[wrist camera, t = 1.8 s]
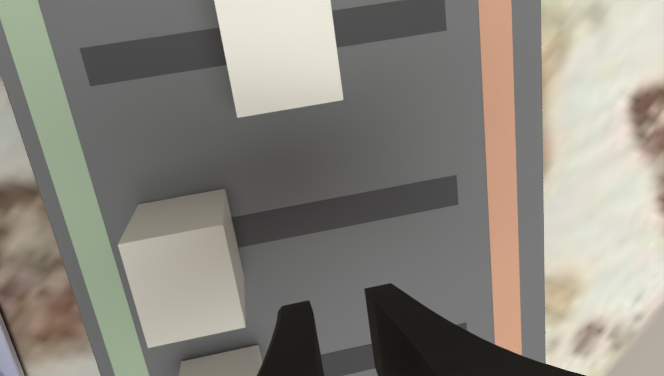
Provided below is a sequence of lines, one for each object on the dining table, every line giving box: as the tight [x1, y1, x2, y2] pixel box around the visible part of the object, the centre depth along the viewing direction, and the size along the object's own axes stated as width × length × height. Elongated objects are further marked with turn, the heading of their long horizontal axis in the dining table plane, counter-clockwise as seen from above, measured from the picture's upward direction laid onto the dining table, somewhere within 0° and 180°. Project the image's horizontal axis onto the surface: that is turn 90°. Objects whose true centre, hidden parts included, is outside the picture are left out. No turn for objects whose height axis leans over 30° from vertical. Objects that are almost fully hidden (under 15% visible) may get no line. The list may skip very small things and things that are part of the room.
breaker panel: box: [0, 0, 545, 376], centre depth 21 cm, size 18×20×2 cm
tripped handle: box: [214, 0, 343, 118], centre depth 16 cm, size 3×4×4 cm
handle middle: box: [118, 189, 246, 348], centre depth 18 cm, size 3×4×4 cm
